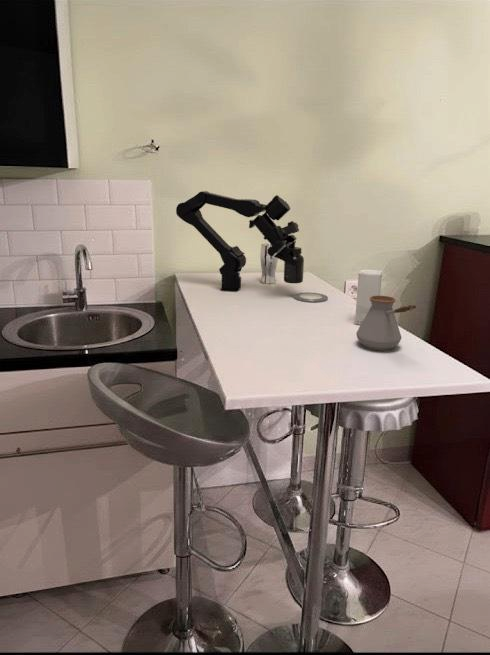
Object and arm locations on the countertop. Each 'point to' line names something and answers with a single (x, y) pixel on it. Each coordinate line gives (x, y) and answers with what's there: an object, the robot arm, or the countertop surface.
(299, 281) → the supplement bottle
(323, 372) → the countertop surface
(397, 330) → the coffee pot
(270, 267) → the beer glass
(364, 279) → the skincare box
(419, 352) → the countertop surface
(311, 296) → the coaster
